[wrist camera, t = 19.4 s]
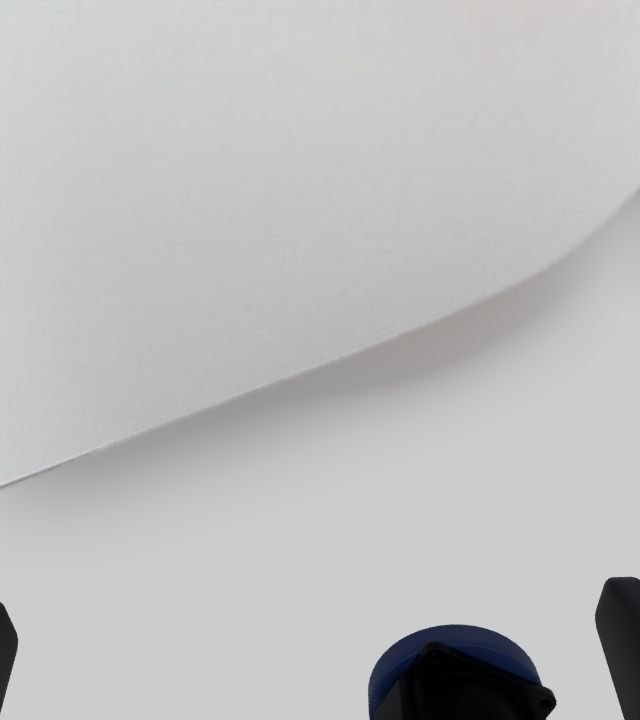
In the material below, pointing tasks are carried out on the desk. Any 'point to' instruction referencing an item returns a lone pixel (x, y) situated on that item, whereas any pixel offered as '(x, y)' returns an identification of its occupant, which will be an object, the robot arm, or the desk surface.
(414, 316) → the desk surface
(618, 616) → the robot arm
